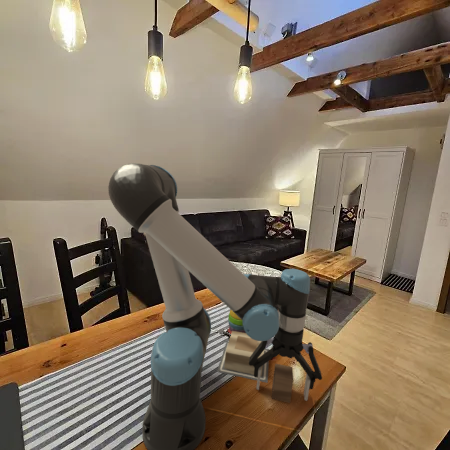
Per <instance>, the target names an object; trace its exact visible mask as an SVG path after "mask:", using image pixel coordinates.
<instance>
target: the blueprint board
mask: <svg viewBox="0 0 450 450" xmlns="http://www.w3.org/2000/svg"><path fill="white" fill-rule="evenodd" d="M228 343H229V340H228V341H227V340H226V342H225V345H224V348H223V352H222V355H221V358H220V360H219V363H218V367H217V370H216V372H217V373H221V374H226V375H229V376H233V377H240V378H245V379H247V380H253V381H257V379H258V378H257V377H254V375H252V374H248V373H243V372H238V371H234V370H229V369H224V366H225V354H226V349H227V346H228ZM268 350H270V349H268V348H265V349H264V353H266V352H267V351H268ZM269 361H270V360H269ZM269 361H268V362H266V363H265V364H264V365H263V367H262V376H260V382H262V383H268V379H269Z"/></svg>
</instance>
